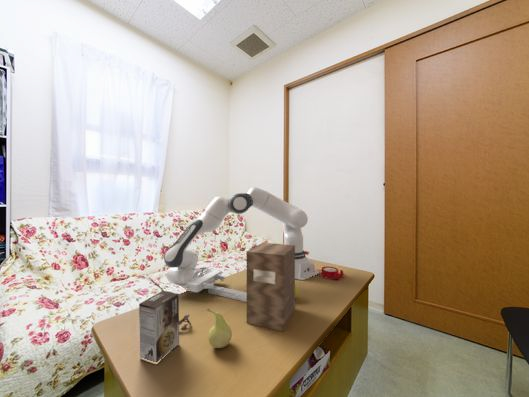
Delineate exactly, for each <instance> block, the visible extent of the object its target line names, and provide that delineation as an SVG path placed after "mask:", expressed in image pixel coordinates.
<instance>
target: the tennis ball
mask: <svg viewBox="0 0 529 397" xmlns="http://www.w3.org/2000/svg"><path fill="white" fill-rule="evenodd" d="M298 292H299V288H298V287H297V285H296V284H295V299H296V298H297V296H298Z"/></svg>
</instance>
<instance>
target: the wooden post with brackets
mask: <svg viewBox="0 0 529 397" xmlns="http://www.w3.org/2000/svg"><path fill="white" fill-rule="evenodd" d="M190 316H191V315H190V314H186V315H184V316H183V317H182V318H181V319H179V326H181V325H182V324H183V323H186V324H183V325H182V326H181V328H180V330H181V329H182V330H185V329H186V328H187V326H188V325H189V326H190V327H191V326H192V323H191V321H190V320H189V318H190Z"/></svg>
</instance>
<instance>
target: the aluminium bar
mask: <svg viewBox="0 0 529 397" xmlns="http://www.w3.org/2000/svg"><path fill="white" fill-rule="evenodd" d="M207 293H208V294H211V295H215V296H220V297H223V298H228V299H232V300H237V301H241V302H245V303H247V291H241V290H237V289H232V288H227V287H223V286H219V285H218V286H217V285H214V288H207Z"/></svg>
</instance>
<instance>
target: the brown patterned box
mask: <svg viewBox="0 0 529 397" xmlns="http://www.w3.org/2000/svg"><path fill="white" fill-rule="evenodd" d="M295 280H296V279H295V245H286V244H284V243H272V242H262V243H259V244H258V245H256V246H254V247H252V248H250V249H249V250H247V251H246V292H247V302H246V324H250V325H254V326H259V327H263V328H267V329H270V330H271V329H272V330H276V331H280V332H285V330H286V328H287V326H288V324H289V322H290V320H291V317H292V316H293V313H294V311H295V308H296V306H295V305H296V298H295V285H296V281H295Z"/></svg>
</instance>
